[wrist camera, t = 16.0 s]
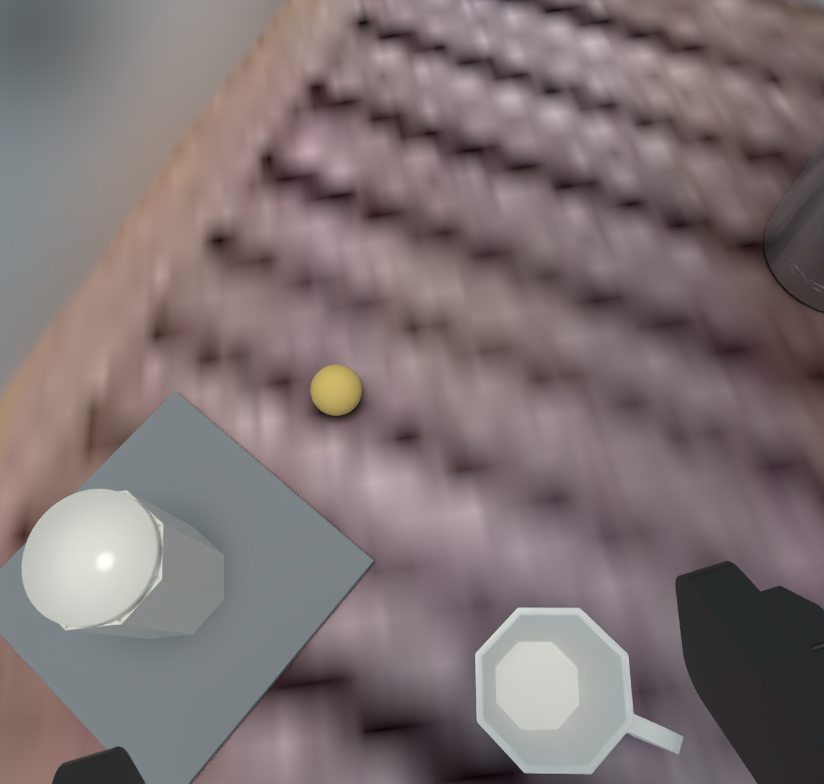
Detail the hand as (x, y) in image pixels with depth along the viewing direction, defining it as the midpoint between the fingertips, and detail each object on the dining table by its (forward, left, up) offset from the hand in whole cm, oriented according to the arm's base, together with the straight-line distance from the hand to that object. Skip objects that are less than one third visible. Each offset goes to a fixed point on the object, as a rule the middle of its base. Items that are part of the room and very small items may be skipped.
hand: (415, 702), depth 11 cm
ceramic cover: (+6, -15, -30) cm, 34 cm away
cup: (-3, +5, -31) cm, 31 cm away
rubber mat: (+6, -15, -31) cm, 35 cm away
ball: (-8, -15, -31) cm, 35 cm away
